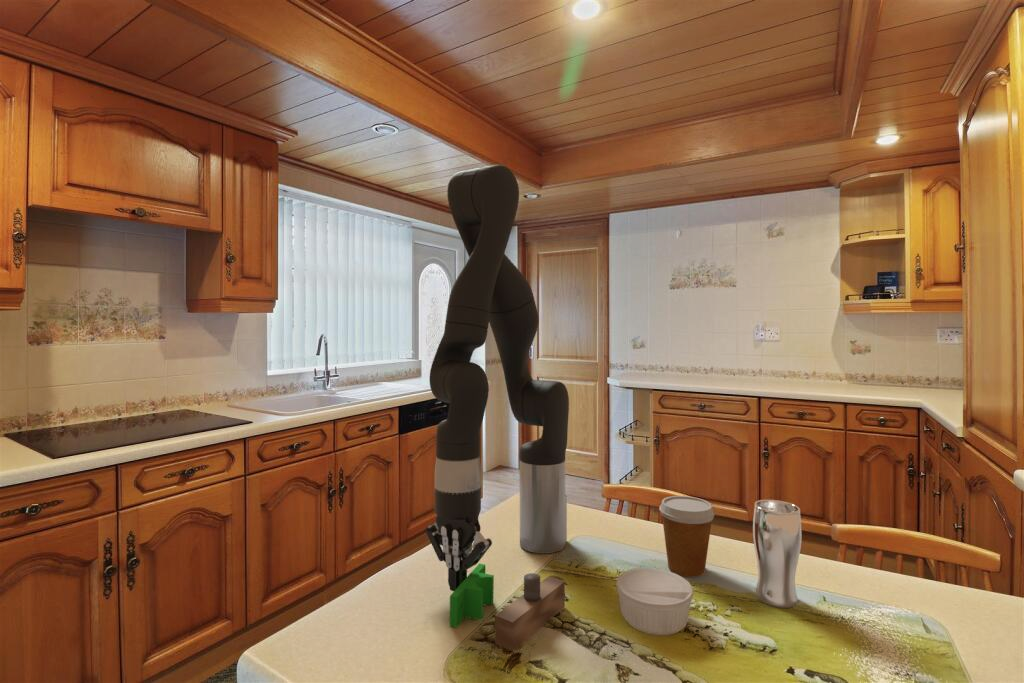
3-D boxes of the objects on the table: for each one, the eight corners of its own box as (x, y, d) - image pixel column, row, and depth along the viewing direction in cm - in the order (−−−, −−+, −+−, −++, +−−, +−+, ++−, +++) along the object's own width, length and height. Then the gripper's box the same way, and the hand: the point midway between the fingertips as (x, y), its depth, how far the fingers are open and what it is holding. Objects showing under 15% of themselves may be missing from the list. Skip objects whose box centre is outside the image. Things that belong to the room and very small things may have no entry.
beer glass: (799, 593, 85) (799, 502, 85) (802, 614, 79) (803, 516, 79) (752, 584, 88) (753, 496, 88) (752, 604, 82) (753, 509, 82)
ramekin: (651, 649, 70) (651, 611, 70) (601, 610, 80) (601, 576, 80) (710, 627, 76) (710, 592, 76) (655, 593, 86) (656, 561, 85)
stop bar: (548, 600, 83) (548, 557, 83) (564, 606, 81) (564, 562, 81) (495, 644, 72) (495, 593, 71) (512, 651, 70) (512, 600, 70)
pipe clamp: (473, 631, 75) (473, 600, 75) (449, 626, 76) (449, 595, 76) (500, 593, 85) (500, 566, 85) (479, 589, 87) (479, 562, 86)
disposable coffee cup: (709, 586, 88) (710, 516, 87) (653, 573, 92) (653, 506, 92) (718, 564, 96) (718, 500, 96) (665, 553, 101) (666, 492, 100)
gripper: (504, 485, 83) (503, 592, 84) (444, 472, 91) (443, 570, 91) (474, 497, 77) (473, 612, 78) (412, 482, 85) (412, 587, 85)
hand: (457, 589), depth 84 cm, fingers closed
